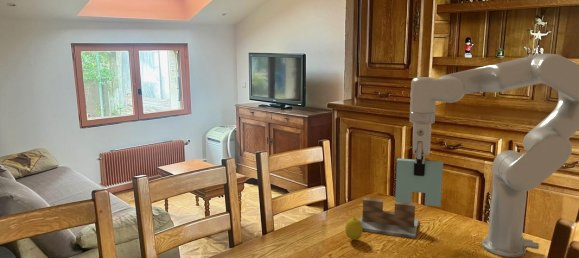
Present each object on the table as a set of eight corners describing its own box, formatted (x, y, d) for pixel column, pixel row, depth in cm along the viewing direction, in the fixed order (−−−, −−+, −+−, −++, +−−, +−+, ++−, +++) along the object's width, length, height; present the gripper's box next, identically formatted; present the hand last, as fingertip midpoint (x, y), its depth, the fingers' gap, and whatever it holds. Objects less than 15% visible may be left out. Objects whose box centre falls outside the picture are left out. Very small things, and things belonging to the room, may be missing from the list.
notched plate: (440, 204, 138) (443, 161, 136) (440, 206, 136) (443, 163, 133) (396, 199, 143) (397, 158, 140) (395, 201, 141) (396, 160, 138)
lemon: (356, 235, 146) (357, 213, 145) (365, 242, 141) (365, 219, 140) (342, 238, 145) (342, 215, 143) (350, 245, 139) (350, 222, 138)
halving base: (418, 221, 158) (419, 198, 156) (415, 238, 144) (416, 213, 143) (363, 214, 165) (364, 191, 163) (355, 229, 151) (356, 205, 149)
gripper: (433, 122, 125) (430, 182, 129) (435, 113, 140) (432, 168, 144) (407, 120, 128) (404, 180, 131) (411, 112, 143) (409, 166, 146)
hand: (419, 173), depth 138 cm, fingers closed on notched plate, 2 cm apart
